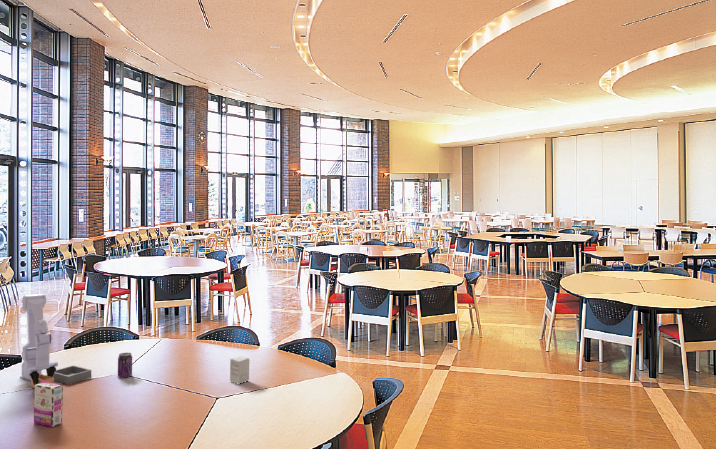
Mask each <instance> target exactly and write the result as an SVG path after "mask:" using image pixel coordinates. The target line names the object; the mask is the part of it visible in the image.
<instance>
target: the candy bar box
mask: <svg viewBox="0 0 716 449" xmlns="http://www.w3.org/2000/svg"><path fill="white" fill-rule="evenodd" d="M63 387H64V386H63V385H62V384H57V383H54V384H53V383H48V382H42V383H39V384H36V385H34V387H33V388H34V392H33V393H34V394H33V395H34V397H33V400H34V402H33V405H34V406H33V423H34V424H36V423H38V424H37V425H40V424H41V425H40V426H44V425H45V427H48V426H49V428H55V427H57V426H60V425H62V424H63V395H64V394H63V392H64V390H63V389H64V388H63Z"/></svg>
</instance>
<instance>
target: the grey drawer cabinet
mask: <svg viewBox="0 0 716 449" xmlns="http://www.w3.org/2000/svg"><path fill="white" fill-rule="evenodd" d="M229 360H230V364H229V366H230V367H229V370H230V371H229V382H230V381H231V382H230V383H232V382H234V383H233V384H235V383H238V384H240V383H243V382H245V381H248V380H249V381H250V358H249V357H247V356H242V355H239V356H236V357H233V358H230V359H229ZM249 381H248V382H249ZM245 383H246V382H245ZM238 384H237V385H238ZM243 384H244V383H243ZM240 385H241V384H240Z"/></svg>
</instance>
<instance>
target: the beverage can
mask: <svg viewBox="0 0 716 449" xmlns="http://www.w3.org/2000/svg"><path fill="white" fill-rule="evenodd" d="M132 375H133V355H132V353H131V352H121V353H118V357H117V377H119V378H123V379H124V378H129V377H130V376H132Z"/></svg>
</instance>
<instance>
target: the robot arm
mask: <svg viewBox="0 0 716 449" xmlns="http://www.w3.org/2000/svg"><path fill="white" fill-rule="evenodd" d="M21 301H22V310H23V311H24V312H26V313H27V336H28V339H27V340H28V342H27V343H25V345H23V346H22V348H21V350H22V351H21V358H22V361H23V362H22V364H21V376H19V378H20V379H24V380H27V381H31V378H32V380H33V384H34V385H36V384H38V378H39V375H40V374H43V373H42V372H43V370H45V371H46V375H47V376H51V377H53V374H54V372H55V371H56V370H57V367H59V362H57V361H54V362H50V357H51V356H50V354H51V352H50V349H51V348H50V344H52V334H51V332H50V330H49V327H48V323H47V321H46V320H45V319H44V310H43V309H44V308H45V305H46V304H47V296H46V294H45V293H38V294H25V295H23V296H22V300H21Z"/></svg>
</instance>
